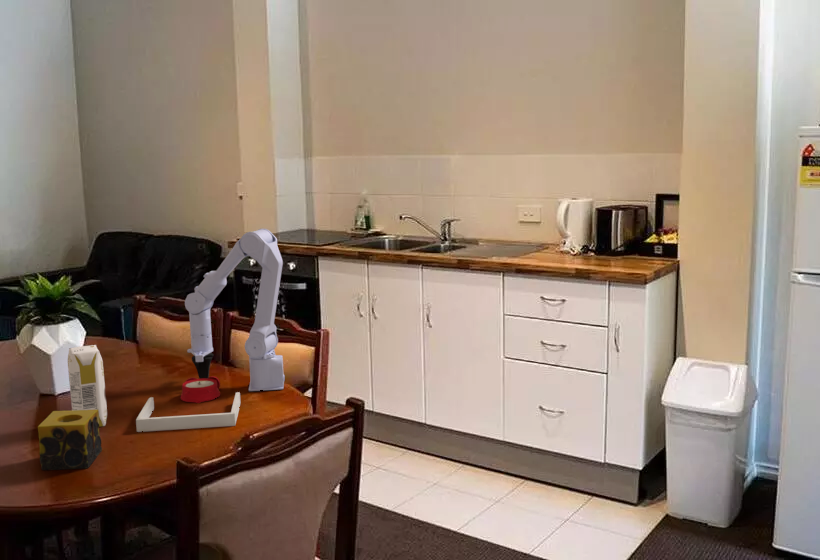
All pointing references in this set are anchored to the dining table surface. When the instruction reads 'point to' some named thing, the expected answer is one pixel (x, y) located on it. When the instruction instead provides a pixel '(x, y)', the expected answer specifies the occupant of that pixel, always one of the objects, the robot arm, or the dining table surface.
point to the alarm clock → (200, 389)
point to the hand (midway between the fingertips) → (204, 380)
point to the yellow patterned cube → (69, 440)
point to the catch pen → (185, 419)
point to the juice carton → (87, 381)
